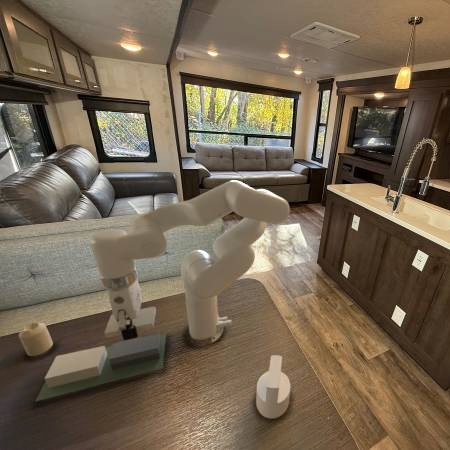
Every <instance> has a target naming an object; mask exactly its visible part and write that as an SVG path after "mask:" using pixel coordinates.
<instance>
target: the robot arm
mask: <svg viewBox="0 0 450 450" xmlns="http://www.w3.org/2000/svg"><path fill="white" fill-rule="evenodd" d="M290 211H291V208H290V204H289V202H288V201H287V200H286V199H285V198H283V197H281V196H279V195H277V194H276V193H274V192H272V191H270V190H268V189H264V188H260V189H255V188H253V187H250V186H249V185H248V184H245V183H243V182H242V181H239V180H233V179H232V180H229V181H226V182H225V183H222V184H220V185H218V186H216V187H213V188H212V189H209V190H208V191H206V192H204V193H202V194H199V195H197V196H196V197H193V198H191V199H188V200H183V201H177V202H174V203H170V204H166V205H163V206H160V207H158V208H156V209H153V210H151V211H148V212H147V213H145V214H142V215H140V216H139V217H137V218H135V220H133V221H131V224H130V225H129V227H128V231H125V230H122V229H120V228H119V229H118V228H112V229H111V228H110V229H106V230H101V231H98V232H97V233H94V235H92V236H91V238H90V240H89V244H90V248H91V252H92V255H93V258H94V261H95V265H96V268H97V271H98V274H99V277H100V281H101V284H102V287H103V288H104V289H105V290H107V293H108V298H109V303H110V308H111V312H112V315H113V316H114V318H115V320H116V321H117V322H119V326H118V329H119V330H120V331H121V333H122V335H121V336H122V339H123V341H127V340H132V339H137V338H139V337H138V336H139V334H138V331H137V330H136V326H135V325H134V324H133V319H136V318H137V317H138V315H139V311H140V309H142V307H141V306H142V301H143V293H142V289H141V287H140V283H139V280H138V279H139V275H138V272H137V271H138V270H137V267H136V261H135V260H143V259H144V260H146V259H154V258H157V257H159V256H161V255H162V254H164V252H165V251H166V249H167V246H168V243H167V239H166V237H165V235H164V233H166V232H168V231H170V230H172V229H174V228H177V227H181V226H182V227H183V226H195V227H207V226H209V225H211V224H212V223H213V224H214V222H216V221H218V220H220V219H222V218H223V217H225V216H227V215H229V214H231V213H233V212H234V213H235V214H236V215H238V216H240V217H242V219H241V220H240V221H239V222H237V223H236V224H234V225H233V226H232V227H230V228H229V229H227V230H226V231H224V232H223V233H221V234H220V235H218V236H217V237H216V238H215V240H214V241H213V243H212V250H213V252H214V255H216V257H217V258H218V259H217V260H215V259H214V258H213V257H212V255H211V254H209V253H208V252H206V251H205V250H202V249H195V250H191V251H189V252H188V253H186V254H185V255H184V256H183V258H182V260H181V262H180V274H181V279H182V284H183V289H184V296H185V305H186V314H187V323H188V331H189V335H190V337H191V338H192V339H193V340H196V341H205V340H208V339H211V344H214V343H215V342H217V341H218V340H219V339H220V338H221V336H222V335H223V332H224V327H231V326H233V320H232V319H228V316H227V315H226V316H223V317H221V316H219V310H218V295H219V294H221V293H222V292H223V291H225V290H226V289H227V288H229V287H230V286H231V285H232V284H234V283H235V282H236V281H238V280H239V279H240V278H241V277H243V276H244V275H245V274H246V273H247V272H248V271H249V270H250V269H251V267H252V266H253V265H254V262H255V258H256V254H255V251H254V248H253V247H252V245H253V244H255V243H256V242H257V241H258V240H259V239H260V238H261V237H262V236H263V234H264V233H265V231H266V229H267V225H268V224H271V225H278V224H281V223H283V222H285V221H286V220H287V219H288V217H289V216H290ZM127 232H128V233H127ZM126 315H127V316H128V317H126ZM126 320H130V324H128V325H127V324H126Z"/></svg>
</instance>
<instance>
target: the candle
mask: <svg viewBox="0 0 450 450" xmlns="http://www.w3.org/2000/svg"><path fill="white" fill-rule="evenodd" d="M18 339H19V341H20V342H21V344H22V346H23V348H24V351H25V352H26V354H27V356H28V357H37V356H39V355H42V354H44V353H45V352H47V351H49V350H50V349H51V348H52V347H53V345H54V342H53V339H52V337H51V334H50V332H49V330H48V328H47V325H46V323H43V322H33V323H31V324H26V325H25V326H24V327H23V328H22V329H21V330H20V332H19V333H18Z"/></svg>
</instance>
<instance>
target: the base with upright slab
mask: <svg viewBox="0 0 450 450" xmlns="http://www.w3.org/2000/svg"><path fill="white" fill-rule="evenodd" d="M282 363H283V356H282V355H278V354H274V355H273V354H272V355H270V362H269V367H268V371H266V372H264V373H263V374H262V375H261V376H260V377H259V378H258V379H257V383H256V395H255V396H256V399H255V404H256V408H257V411H258V412H259V414H260V415H261V416H262V417H264V418H266V419H271V420H272V419H277V418H279V417H281V416H282V415H284V414H285V413H286V411H287V409H288V408H289V405H290V398H291V397H290V394H291V381H290V379H289V377H288V376H287V375H286V374H285V373H284V372H282V366H283V365H282Z"/></svg>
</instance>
